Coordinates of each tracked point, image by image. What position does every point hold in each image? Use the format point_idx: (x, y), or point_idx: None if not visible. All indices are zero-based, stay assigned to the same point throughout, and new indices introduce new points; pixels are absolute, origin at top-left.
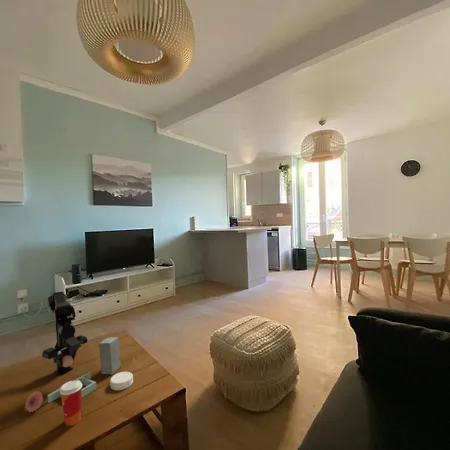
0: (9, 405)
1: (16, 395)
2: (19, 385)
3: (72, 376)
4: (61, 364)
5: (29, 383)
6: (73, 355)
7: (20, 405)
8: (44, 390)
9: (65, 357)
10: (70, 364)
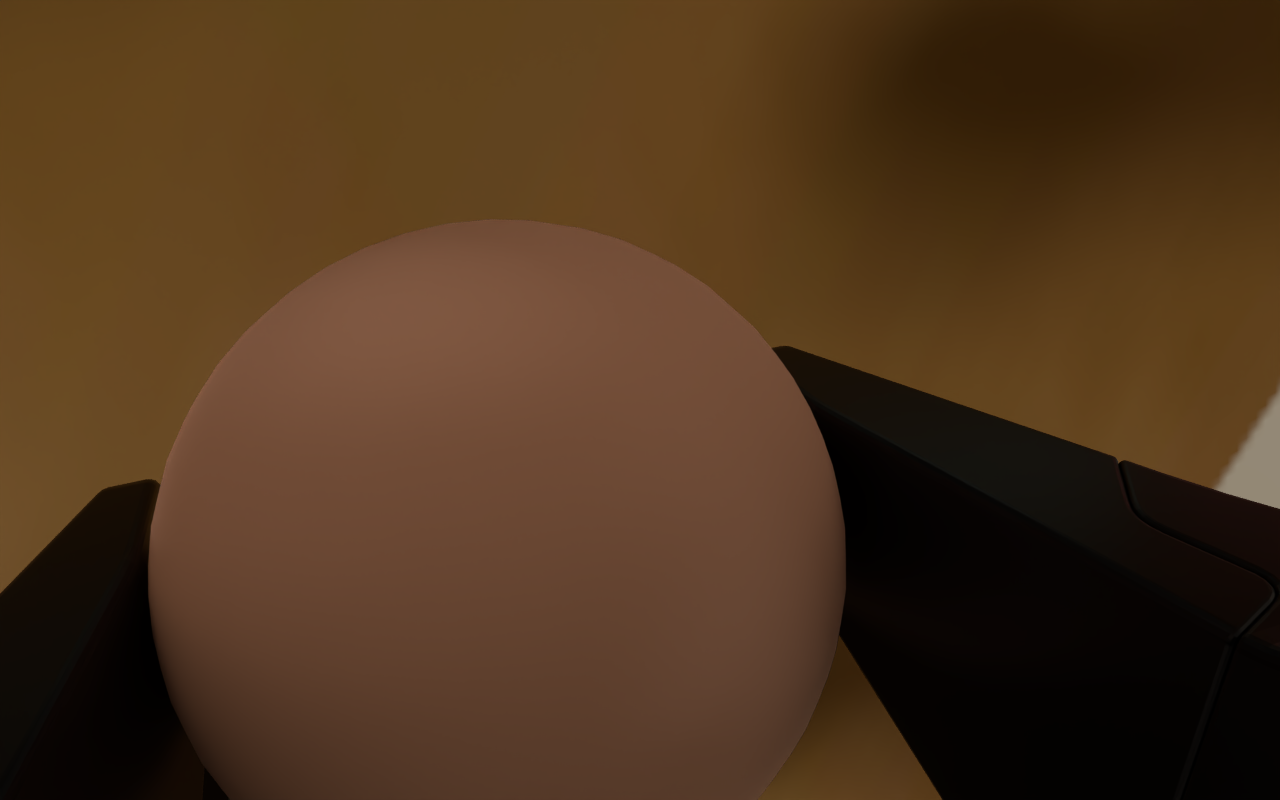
0: (1258, 348)
1: None
2: (879, 794)
3: (126, 429)
4: (882, 391)
5: (786, 760)
6: (50, 732)
7: (1233, 189)
8: (800, 340)
9: (728, 696)
10: (399, 236)
